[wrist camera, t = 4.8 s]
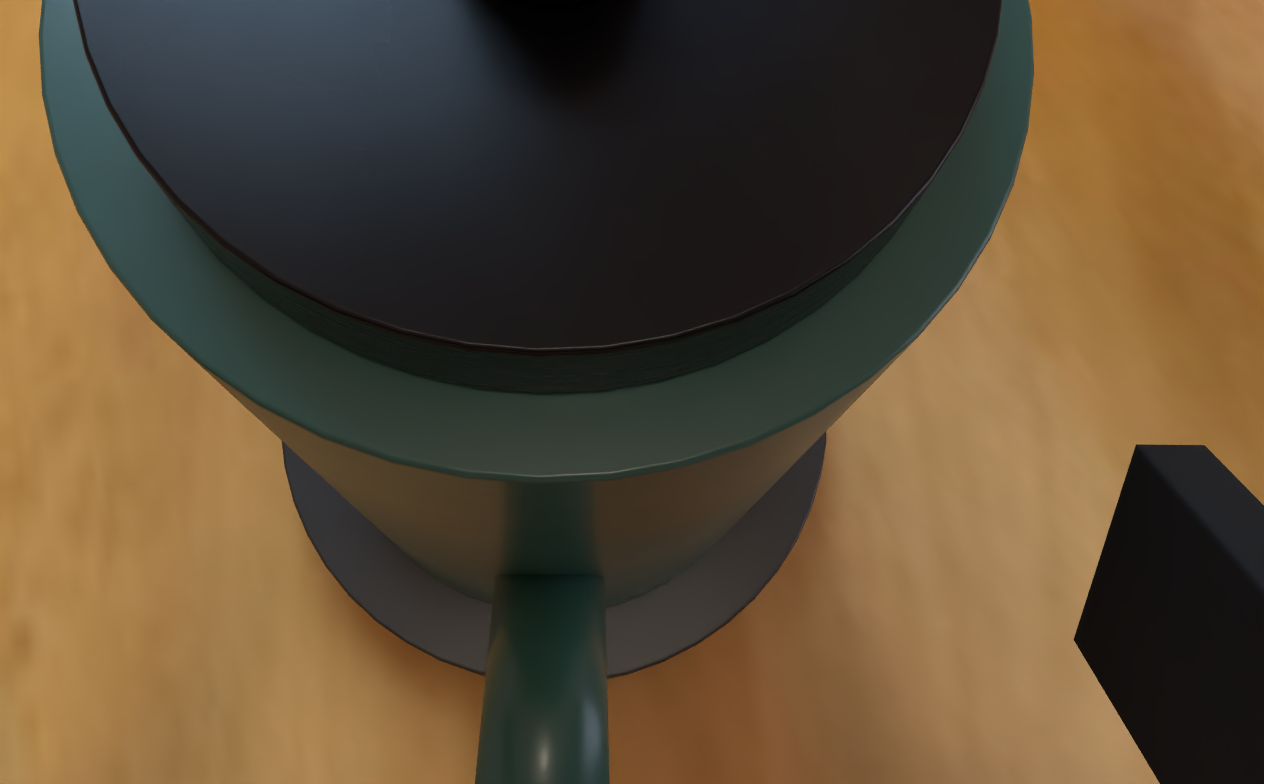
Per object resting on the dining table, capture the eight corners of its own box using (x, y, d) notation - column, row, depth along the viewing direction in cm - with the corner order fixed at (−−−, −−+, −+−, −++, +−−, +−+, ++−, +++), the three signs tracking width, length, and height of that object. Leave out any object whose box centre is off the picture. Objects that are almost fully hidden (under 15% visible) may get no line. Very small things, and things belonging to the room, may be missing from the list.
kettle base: (825, 685, 25) (841, 684, 24) (271, 683, 25) (253, 682, 23) (802, 190, 29) (815, 164, 28) (317, 175, 28) (305, 148, 27)
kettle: (782, 820, 23) (1426, 1175, 6) (308, 822, 22) (-522, 1221, 5) (755, 47, 28) (1052, -957, 11) (372, 32, 28) (61, -1051, 11)
